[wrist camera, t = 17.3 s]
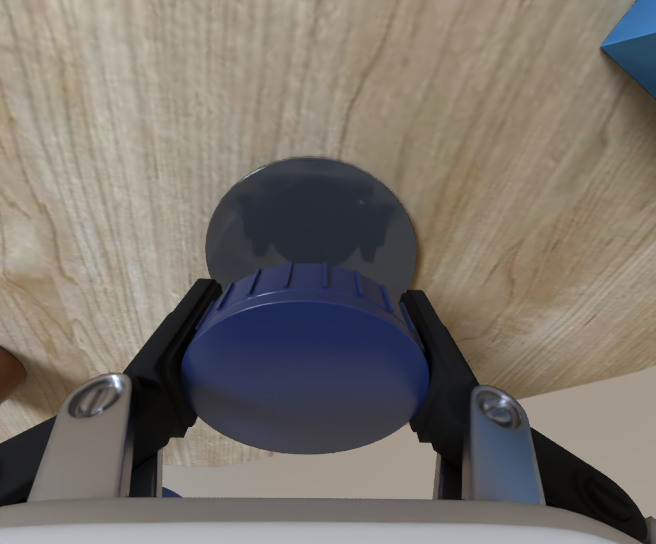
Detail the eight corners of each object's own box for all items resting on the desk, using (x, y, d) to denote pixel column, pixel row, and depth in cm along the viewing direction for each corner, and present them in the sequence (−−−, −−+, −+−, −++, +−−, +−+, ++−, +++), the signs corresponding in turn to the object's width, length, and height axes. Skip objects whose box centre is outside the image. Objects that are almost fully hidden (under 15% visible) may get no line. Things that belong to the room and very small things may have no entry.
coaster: (373, 348, 18) (374, 355, 17) (207, 320, 16) (203, 327, 15) (451, 191, 12) (457, 194, 12) (211, 124, 10) (205, 124, 10)
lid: (208, 230, 6) (174, 264, 5) (454, 292, 7) (485, 334, 6) (199, 394, 10) (178, 442, 8) (368, 419, 11) (375, 465, 9)
